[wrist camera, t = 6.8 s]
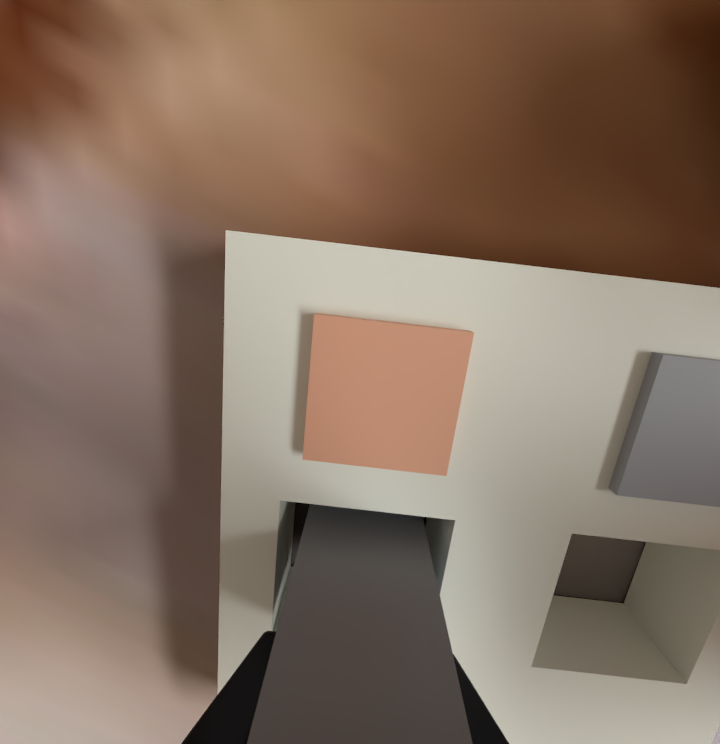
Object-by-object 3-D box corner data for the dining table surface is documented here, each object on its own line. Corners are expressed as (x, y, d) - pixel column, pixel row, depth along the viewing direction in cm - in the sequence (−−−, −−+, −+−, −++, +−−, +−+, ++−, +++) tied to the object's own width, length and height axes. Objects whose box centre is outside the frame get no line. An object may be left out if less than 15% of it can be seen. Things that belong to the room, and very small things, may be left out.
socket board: (614, 733, 14) (674, 845, 11) (243, 692, 14) (211, 795, 11) (788, 303, 10) (952, 314, 7) (262, 242, 10) (219, 227, 7)
